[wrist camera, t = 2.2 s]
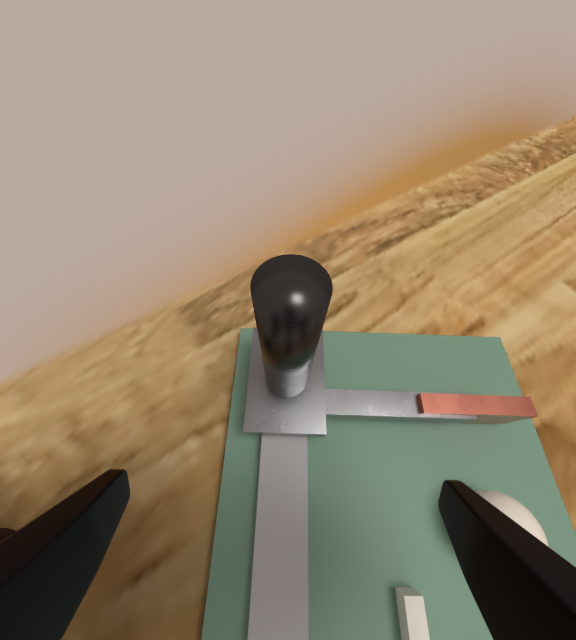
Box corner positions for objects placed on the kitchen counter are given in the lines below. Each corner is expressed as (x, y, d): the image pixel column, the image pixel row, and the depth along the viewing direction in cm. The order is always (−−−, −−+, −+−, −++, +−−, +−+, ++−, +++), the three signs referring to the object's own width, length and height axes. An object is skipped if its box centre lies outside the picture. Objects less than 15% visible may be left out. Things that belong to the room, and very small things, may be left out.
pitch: (716, 955, 11) (807, 1056, 9) (167, 941, 11) (143, 1040, 9) (492, 342, 24) (510, 330, 22) (242, 333, 24) (238, 321, 22)
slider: (510, 445, 19) (838, 405, 8) (247, 437, 19) (199, 384, 8) (479, 350, 22) (675, 229, 11) (256, 343, 22) (231, 212, 11)
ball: (525, 537, 17) (589, 554, 13) (483, 586, 16) (541, 619, 12) (471, 474, 18) (516, 474, 15) (429, 515, 17) (467, 525, 14)
